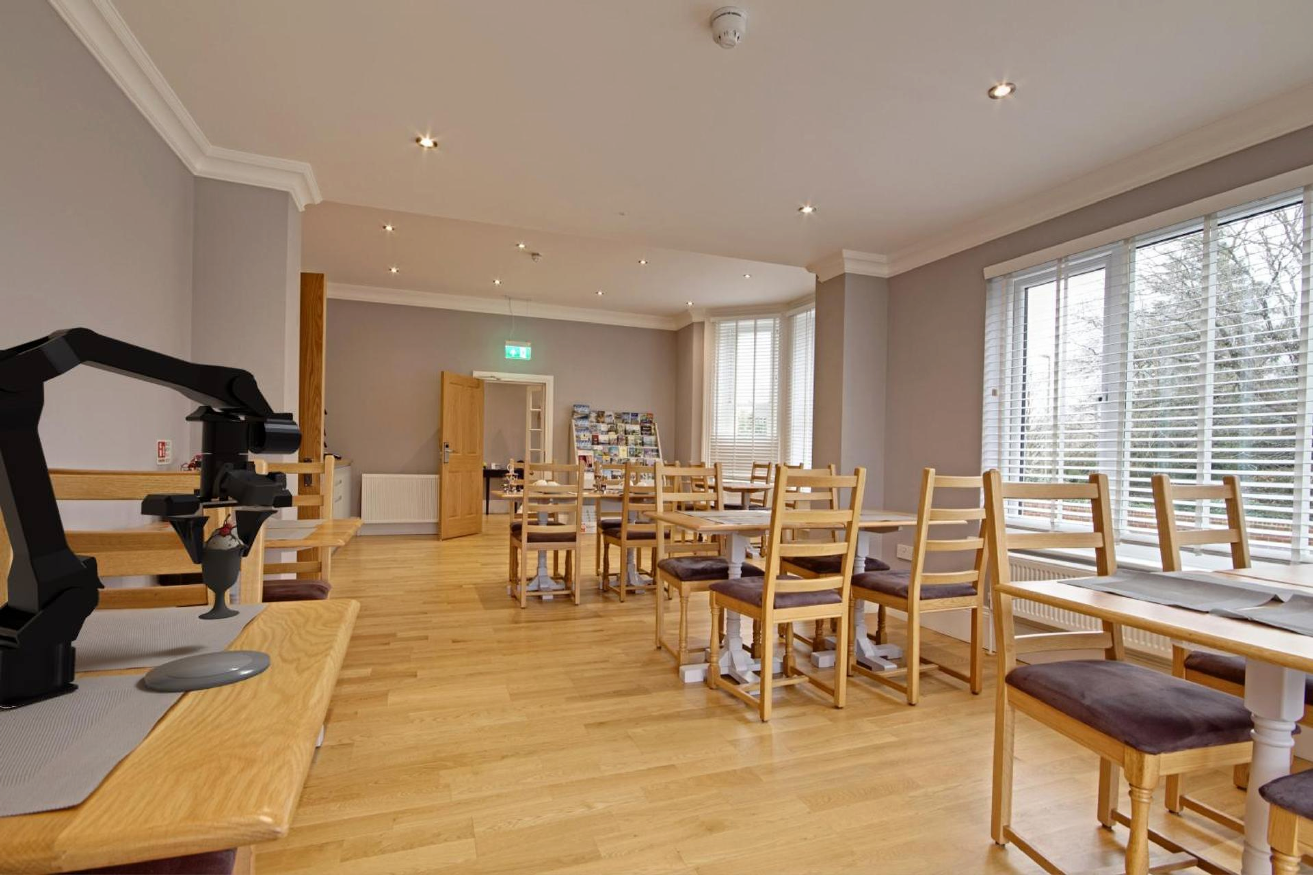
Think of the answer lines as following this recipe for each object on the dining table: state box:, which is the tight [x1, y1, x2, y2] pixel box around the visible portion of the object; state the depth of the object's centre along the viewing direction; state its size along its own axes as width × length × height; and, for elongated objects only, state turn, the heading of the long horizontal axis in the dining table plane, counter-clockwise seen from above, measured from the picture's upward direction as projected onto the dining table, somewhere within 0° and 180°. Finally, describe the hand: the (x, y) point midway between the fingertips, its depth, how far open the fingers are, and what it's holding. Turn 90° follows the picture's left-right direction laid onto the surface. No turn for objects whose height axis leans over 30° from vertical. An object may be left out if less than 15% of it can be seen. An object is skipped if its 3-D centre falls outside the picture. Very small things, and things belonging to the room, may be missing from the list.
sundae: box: [198, 513, 249, 621], centre depth 91 cm, size 7×7×15 cm
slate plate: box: [144, 649, 271, 692], centre depth 80 cm, size 13×13×1 cm
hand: (221, 560), depth 91 cm, fingers closed on sundae, 6 cm apart
